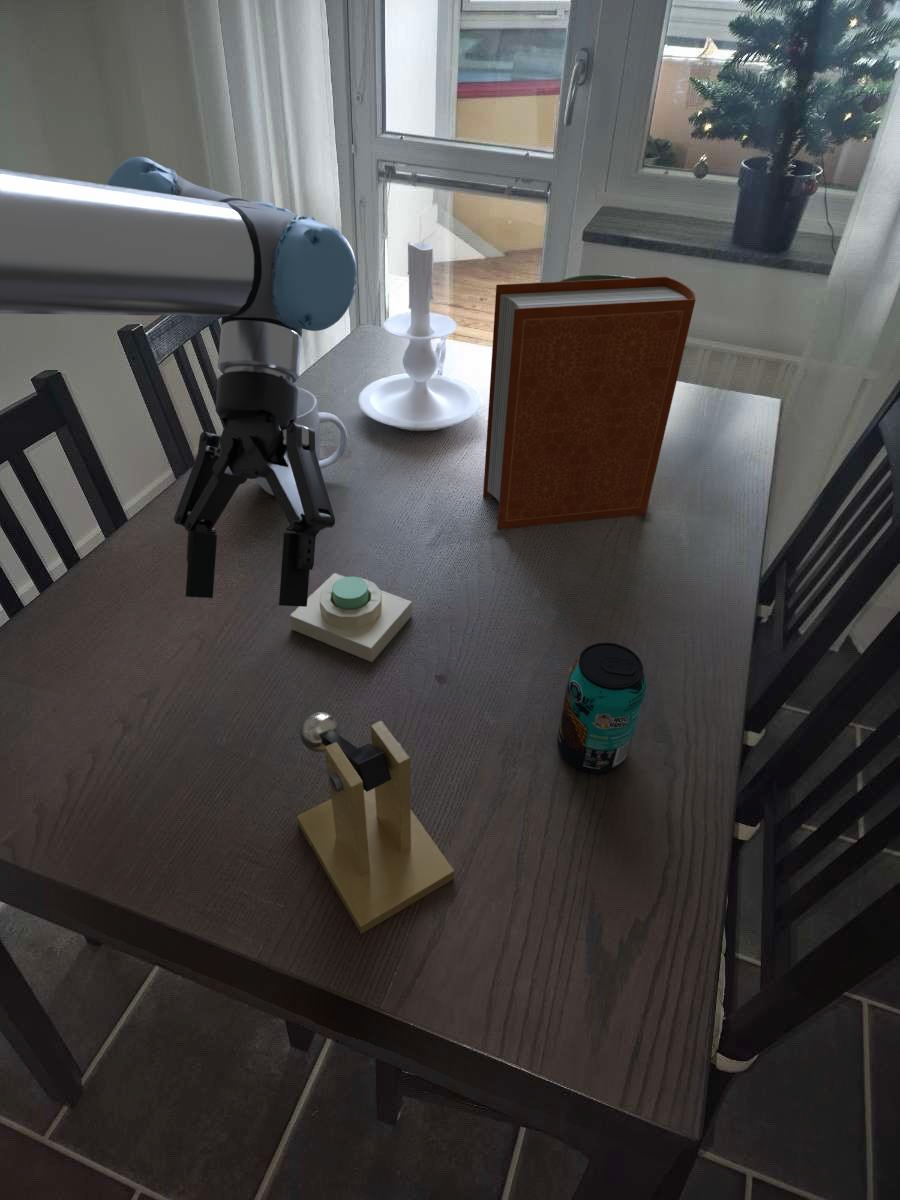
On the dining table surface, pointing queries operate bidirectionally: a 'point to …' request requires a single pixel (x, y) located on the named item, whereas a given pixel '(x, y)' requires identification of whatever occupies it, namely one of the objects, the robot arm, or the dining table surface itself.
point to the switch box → (352, 620)
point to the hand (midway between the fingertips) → (243, 601)
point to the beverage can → (601, 707)
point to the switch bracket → (373, 837)
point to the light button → (350, 593)
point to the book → (581, 396)
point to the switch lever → (345, 749)
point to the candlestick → (420, 363)
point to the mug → (312, 419)
